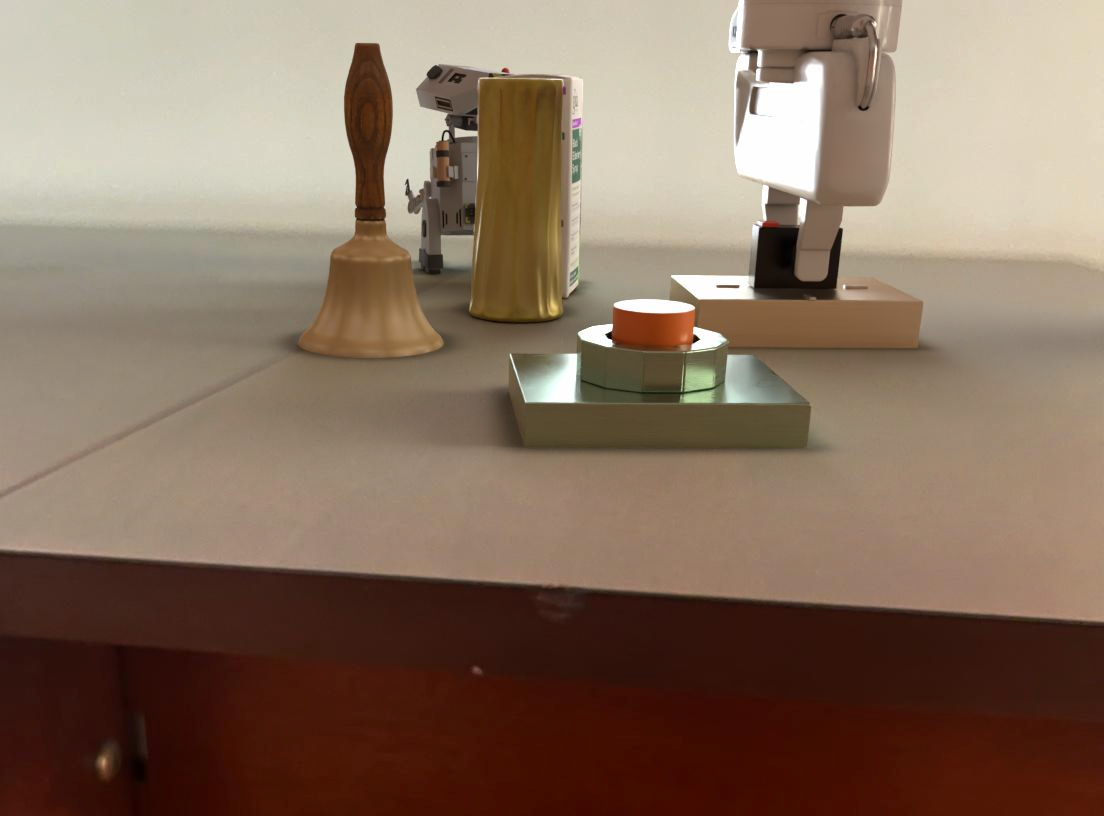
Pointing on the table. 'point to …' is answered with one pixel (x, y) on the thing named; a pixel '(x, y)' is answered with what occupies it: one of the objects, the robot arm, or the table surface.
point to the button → (653, 322)
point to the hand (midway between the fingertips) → (793, 271)
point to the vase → (518, 201)
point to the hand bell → (370, 241)
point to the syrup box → (569, 175)
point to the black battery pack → (784, 258)
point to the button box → (653, 397)
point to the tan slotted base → (802, 313)
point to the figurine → (449, 160)
